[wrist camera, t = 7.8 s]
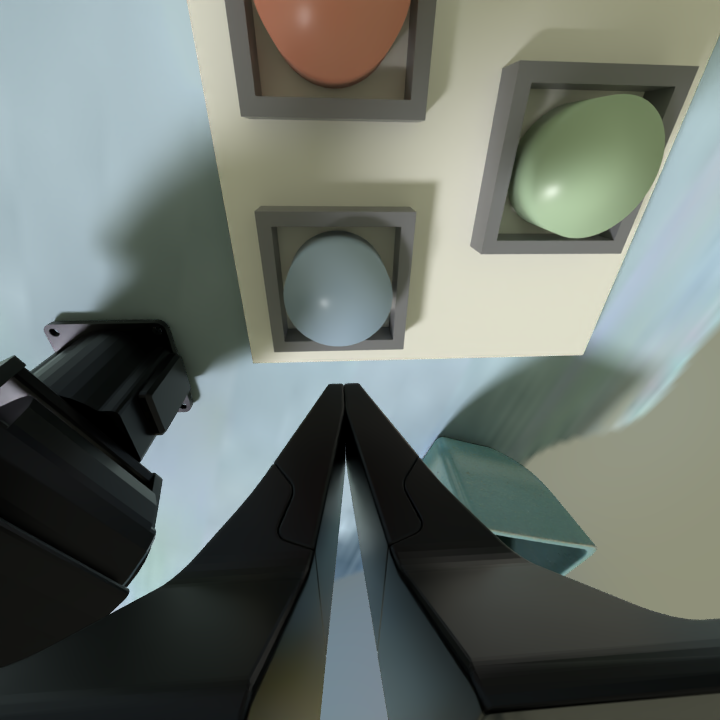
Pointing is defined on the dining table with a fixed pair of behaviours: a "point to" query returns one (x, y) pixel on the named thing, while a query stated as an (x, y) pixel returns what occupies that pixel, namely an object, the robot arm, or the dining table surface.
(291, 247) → the button panel
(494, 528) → the flower pot
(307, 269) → the slate button
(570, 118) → the sage button
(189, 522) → the dining table surface
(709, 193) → the dining table surface
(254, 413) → the dining table surface
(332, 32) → the brick button
